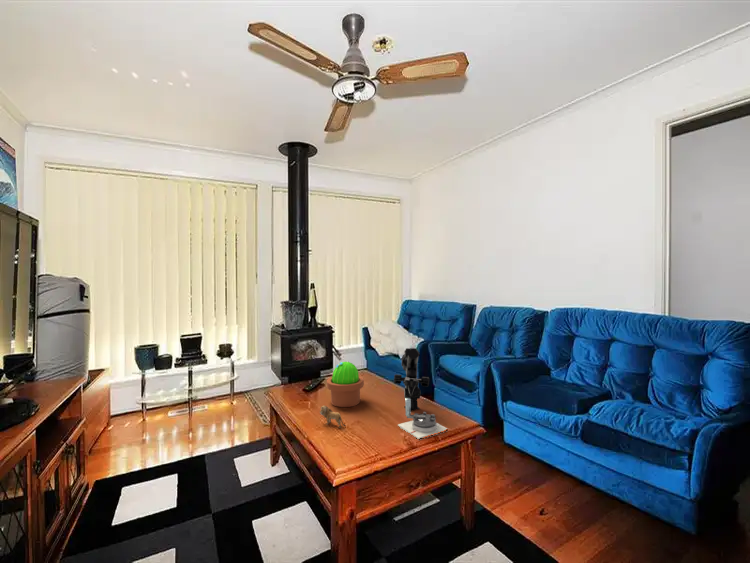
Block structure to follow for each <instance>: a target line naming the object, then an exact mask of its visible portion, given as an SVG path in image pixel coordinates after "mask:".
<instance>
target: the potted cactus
mask: <svg viewBox="0 0 750 563" xmlns="http://www.w3.org/2000/svg"><path fill="white" fill-rule="evenodd" d="M364 381H365V380H364V377H363V376H361V375H359V371H358V367H357V366H356V365H355V364H353V363H352V362H350V361H346V360H345V361H341V362H339V363H338V364H337V365H336V366H335V368H334V369H333V371H332V374H331V376H330V377H329V378H327V380H326V388H327V389H328V390H329V391H330V402H331V403H330V404H331V405H332V406H335V407H338V408H339V407H340V408H349V407H350V408H351V407H354V406H357V405H358V404H359V403H360V402H361V389H362V388H364V385H365V383H364Z"/></svg>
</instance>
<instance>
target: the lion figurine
mask: <svg viewBox="0 0 750 563" xmlns="http://www.w3.org/2000/svg"><path fill="white" fill-rule="evenodd" d="M319 414H320V415H321V416H322V417H324V419H325V418H326V423H325V425H329V424H330V423H331V422H332V420H335V422H336V423H337V425H338V428H339V429H340V428H342V426H344V427H346V426H347V425H346V424H345V423H343V419H342V415H341V414H340V412H338V411H337V412H335V411H333V410H332V409H331V408H330V407H329V406H327V405H322V406H321V407H320V410H319Z"/></svg>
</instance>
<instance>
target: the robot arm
mask: <svg viewBox="0 0 750 563" xmlns="http://www.w3.org/2000/svg"><path fill="white" fill-rule="evenodd" d="M420 355H421V354H420V352H419V350H418V349H417V347H416V348H415V347H413V348H412V347H411V348H410V347H407V348H405V349H404V353H403V355H402V356H401V367H402V369H403V370H404V371H405V374H406V375H405V376H403V377H402V374H394V376H393V379H394V380H393V383H394V384H395V385H396V384H397V385H400V384H402V383H403V384H404V386H405V387H404V389H403V390H404V391H403V392H404V393H403V395H404V396H403V397H404V399H405V398H411V412H413V411H416V409H417V410H419V409H420V407H419V406H418V400H419V399H420V398H421V389H420V387H419V384H420V385H421V387H425V388H427V387H429V386H430V377H429V376H422V377H421V378H418V362H419V358H420ZM403 406H404V405H403ZM404 408H405V406H404ZM405 409H406V408H405ZM412 410H413V411H412Z"/></svg>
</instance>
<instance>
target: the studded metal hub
mask: <svg viewBox="0 0 750 563" xmlns="http://www.w3.org/2000/svg"><path fill="white" fill-rule="evenodd" d="M404 399H405V402H404V403H405V416H406V419H412V420H413V424H414V425H415V426H417V427H421V428H431V427H433V426H435V425H436V423H437V420H436V419H437V418H436V415H435V413H432V414H427V411H423V413H417V412H415V413H414V414H412V411H411V398H405V397H404Z"/></svg>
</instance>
